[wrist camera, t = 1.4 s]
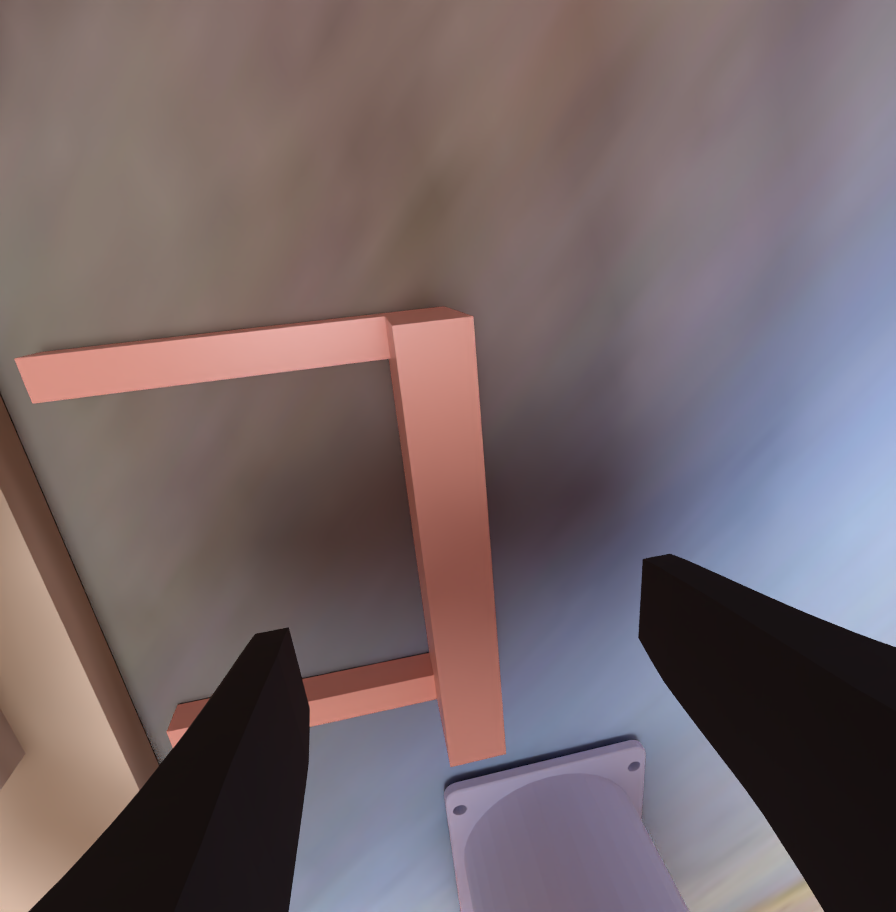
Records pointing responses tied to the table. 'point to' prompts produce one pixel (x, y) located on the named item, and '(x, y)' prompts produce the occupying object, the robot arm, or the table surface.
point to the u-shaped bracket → (427, 480)
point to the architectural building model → (53, 700)
